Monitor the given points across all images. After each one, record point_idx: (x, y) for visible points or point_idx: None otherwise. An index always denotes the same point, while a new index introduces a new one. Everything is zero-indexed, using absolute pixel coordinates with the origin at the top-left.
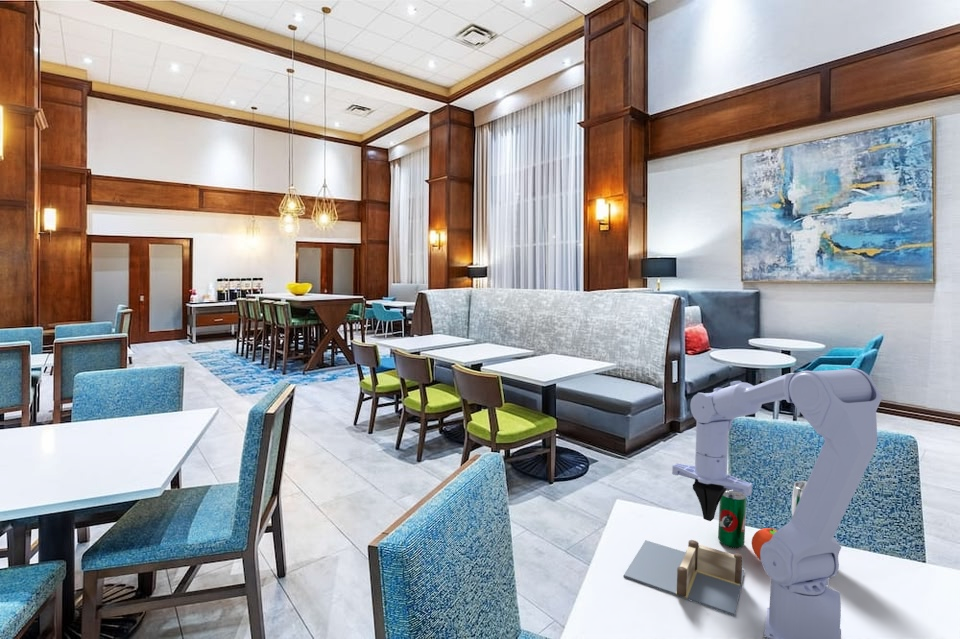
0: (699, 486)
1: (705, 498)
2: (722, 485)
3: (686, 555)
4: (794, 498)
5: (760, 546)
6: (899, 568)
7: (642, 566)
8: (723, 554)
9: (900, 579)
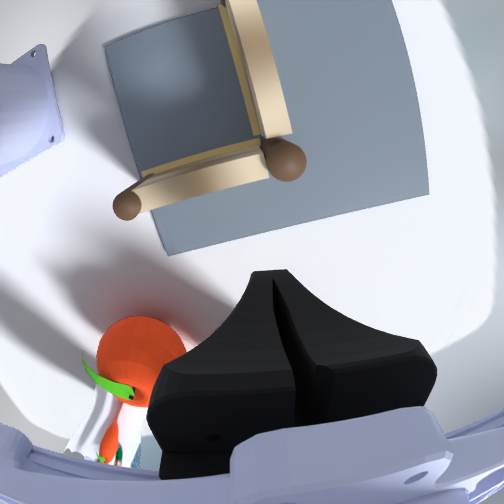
0: (376, 393)
1: (295, 337)
2: (109, 480)
3: (267, 59)
4: None
5: (143, 337)
6: (58, 422)
7: (380, 54)
8: (170, 181)
9: (40, 400)
